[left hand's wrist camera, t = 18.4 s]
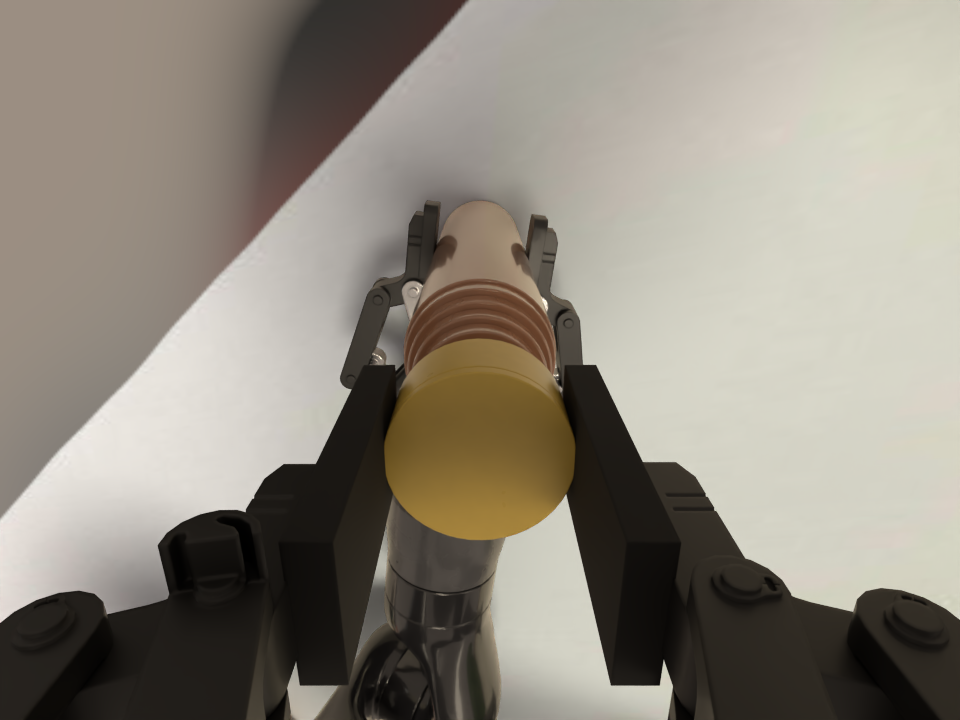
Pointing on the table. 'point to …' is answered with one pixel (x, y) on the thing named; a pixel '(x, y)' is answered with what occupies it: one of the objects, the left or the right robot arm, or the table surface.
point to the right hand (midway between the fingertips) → (485, 211)
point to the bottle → (479, 289)
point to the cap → (479, 441)
